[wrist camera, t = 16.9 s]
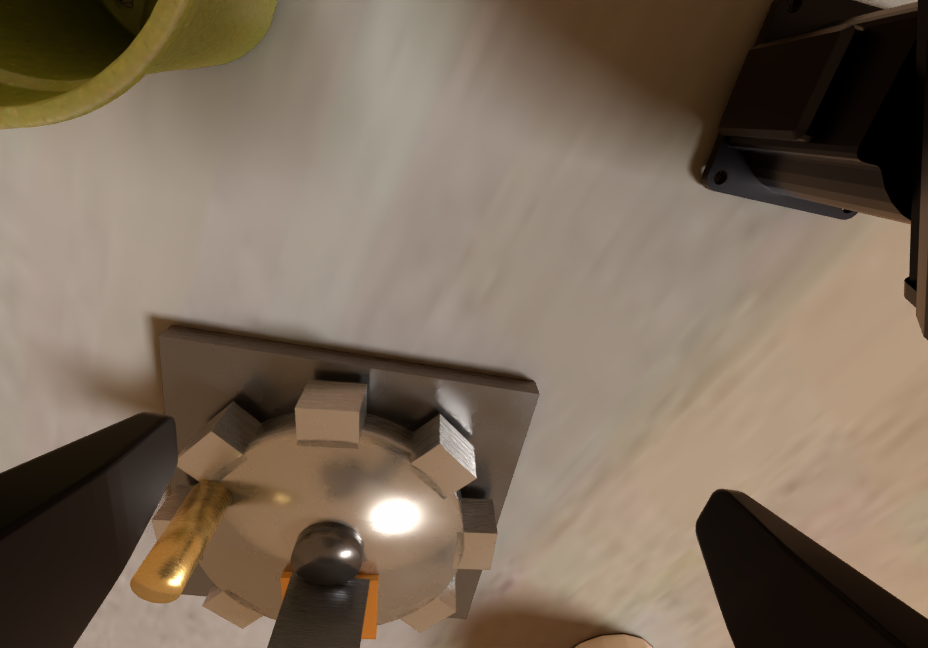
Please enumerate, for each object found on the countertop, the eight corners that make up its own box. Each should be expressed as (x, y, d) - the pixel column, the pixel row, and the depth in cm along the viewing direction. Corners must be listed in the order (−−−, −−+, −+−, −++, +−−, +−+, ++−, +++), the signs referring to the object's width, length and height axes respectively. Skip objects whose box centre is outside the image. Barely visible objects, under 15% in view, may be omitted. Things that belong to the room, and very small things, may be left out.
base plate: (535, 382, 21) (539, 394, 20) (465, 602, 27) (466, 619, 26) (172, 325, 19) (158, 335, 18) (189, 577, 25) (179, 593, 25)
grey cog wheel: (266, 316, 17) (186, 406, 12) (554, 478, 22) (591, 600, 16) (130, 542, 22) (29, 680, 17) (388, 639, 26) (374, 775, 21)
